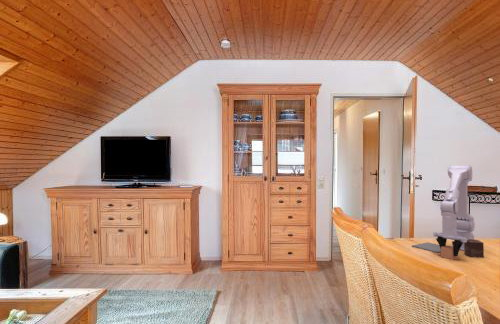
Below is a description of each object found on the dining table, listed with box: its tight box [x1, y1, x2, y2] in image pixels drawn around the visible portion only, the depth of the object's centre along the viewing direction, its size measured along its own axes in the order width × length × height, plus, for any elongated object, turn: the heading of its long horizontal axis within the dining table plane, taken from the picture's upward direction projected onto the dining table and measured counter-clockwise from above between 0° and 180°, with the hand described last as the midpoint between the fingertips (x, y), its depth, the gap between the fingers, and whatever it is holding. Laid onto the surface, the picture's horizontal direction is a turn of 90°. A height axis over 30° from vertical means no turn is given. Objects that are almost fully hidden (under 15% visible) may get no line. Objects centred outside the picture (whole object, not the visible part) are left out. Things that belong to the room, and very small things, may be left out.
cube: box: [440, 244, 459, 260], centre depth 151 cm, size 5×5×5 cm
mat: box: [411, 242, 441, 254], centre depth 167 cm, size 14×14×1 cm
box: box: [463, 239, 485, 258], centre depth 153 cm, size 6×6×7 cm
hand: (449, 254), depth 151 cm, fingers open, 5 cm apart
